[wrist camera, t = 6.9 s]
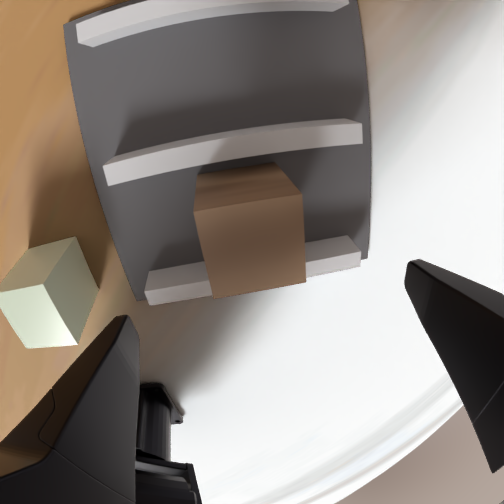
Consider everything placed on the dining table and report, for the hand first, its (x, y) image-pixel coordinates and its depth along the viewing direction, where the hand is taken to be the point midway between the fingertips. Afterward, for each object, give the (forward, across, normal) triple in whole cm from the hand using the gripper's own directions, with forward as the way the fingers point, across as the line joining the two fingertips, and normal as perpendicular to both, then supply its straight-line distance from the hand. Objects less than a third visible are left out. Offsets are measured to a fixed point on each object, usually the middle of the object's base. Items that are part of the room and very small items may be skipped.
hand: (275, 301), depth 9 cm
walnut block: (+8, 0, 0) cm, 8 cm away
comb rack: (+9, 0, -3) cm, 9 cm away
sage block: (+9, +12, +2) cm, 15 cm away
